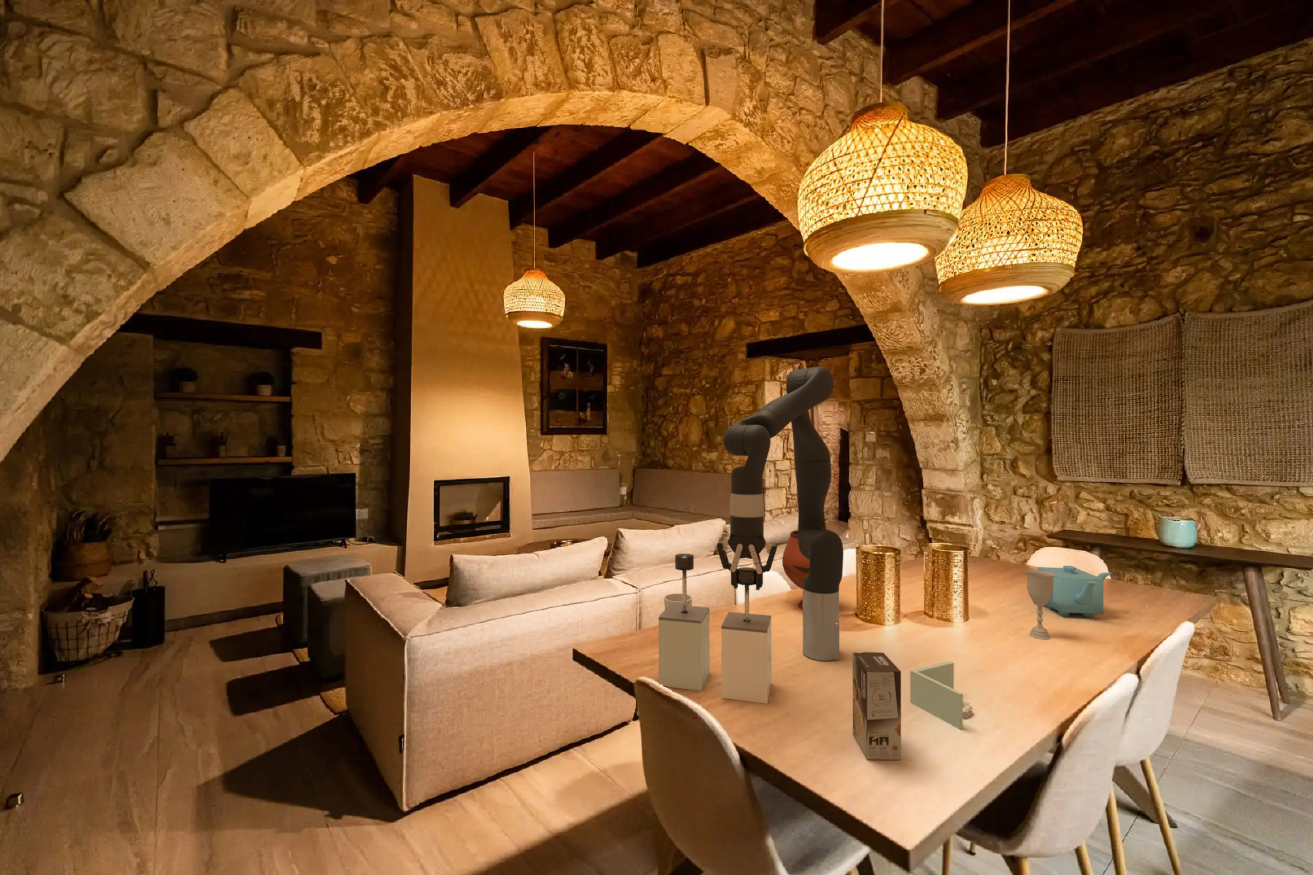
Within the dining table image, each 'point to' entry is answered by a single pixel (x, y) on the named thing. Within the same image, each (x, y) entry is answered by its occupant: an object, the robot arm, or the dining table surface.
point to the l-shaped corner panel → (939, 693)
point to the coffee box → (877, 705)
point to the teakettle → (1076, 591)
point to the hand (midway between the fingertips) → (746, 588)
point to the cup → (676, 599)
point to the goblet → (795, 563)
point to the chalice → (1040, 597)
